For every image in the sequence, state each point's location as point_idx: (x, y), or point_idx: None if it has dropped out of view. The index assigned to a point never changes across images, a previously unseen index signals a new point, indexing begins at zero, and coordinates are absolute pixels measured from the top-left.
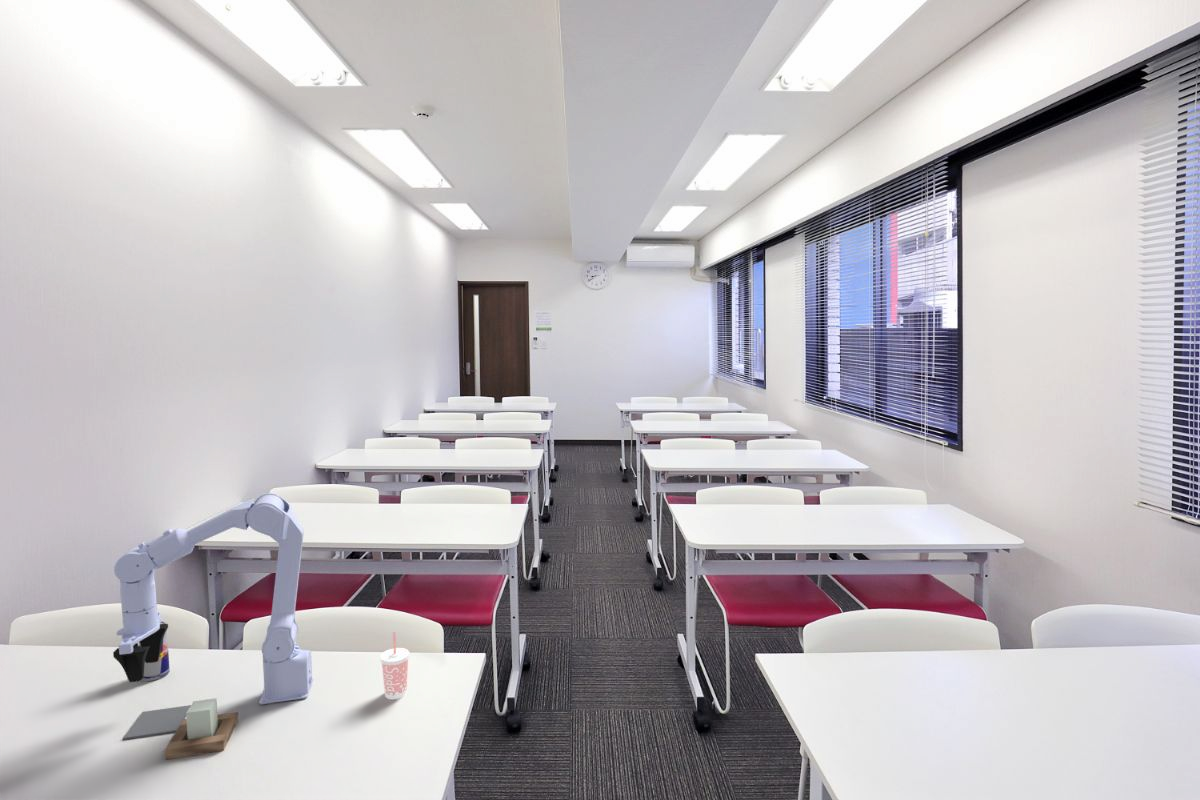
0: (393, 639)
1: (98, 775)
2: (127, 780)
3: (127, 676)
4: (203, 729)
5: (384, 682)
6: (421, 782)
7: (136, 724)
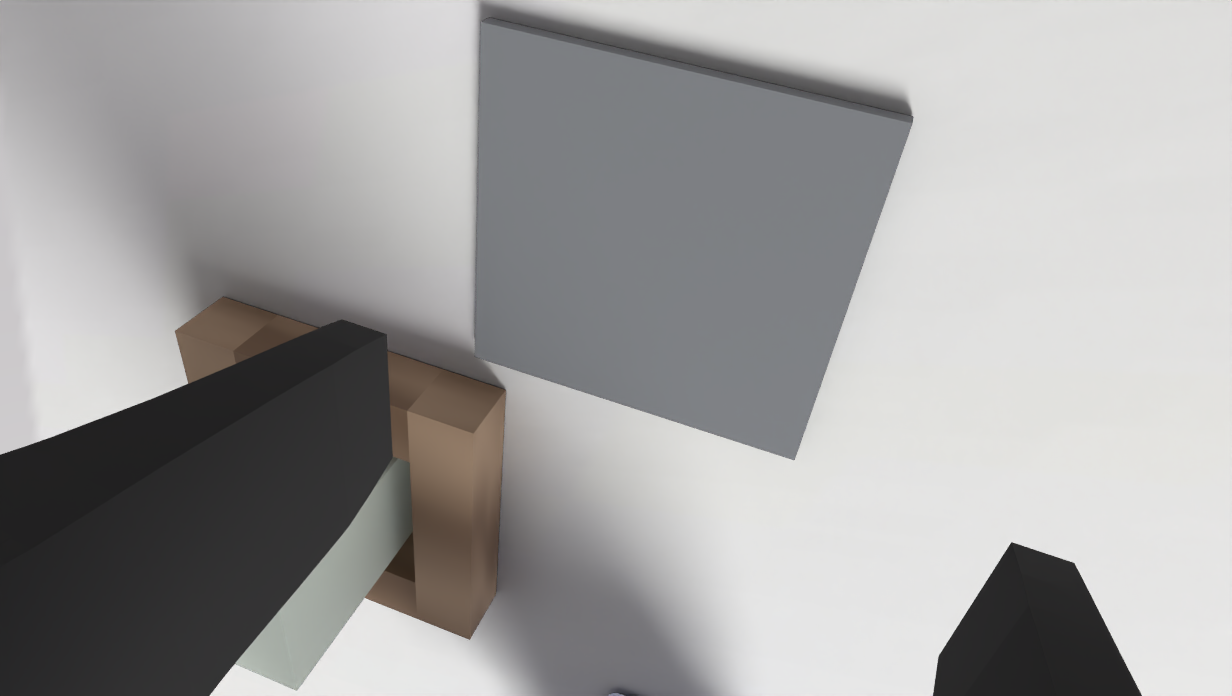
0: None
1: None
2: (67, 128)
3: (243, 366)
4: None
5: None
6: None
7: (670, 99)
